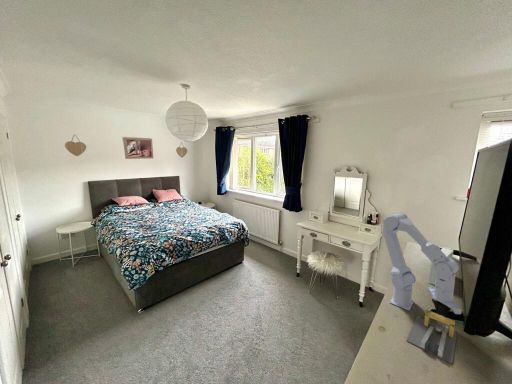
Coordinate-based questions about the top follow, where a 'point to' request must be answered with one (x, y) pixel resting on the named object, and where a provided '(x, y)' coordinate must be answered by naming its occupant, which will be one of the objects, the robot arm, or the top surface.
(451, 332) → the yellow arch block
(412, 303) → the robot arm
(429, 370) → the top surface
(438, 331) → the tongs fixed
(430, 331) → the tong arm
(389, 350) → the top surface
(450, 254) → the skincare box
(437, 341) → the mat
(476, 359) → the top surface
